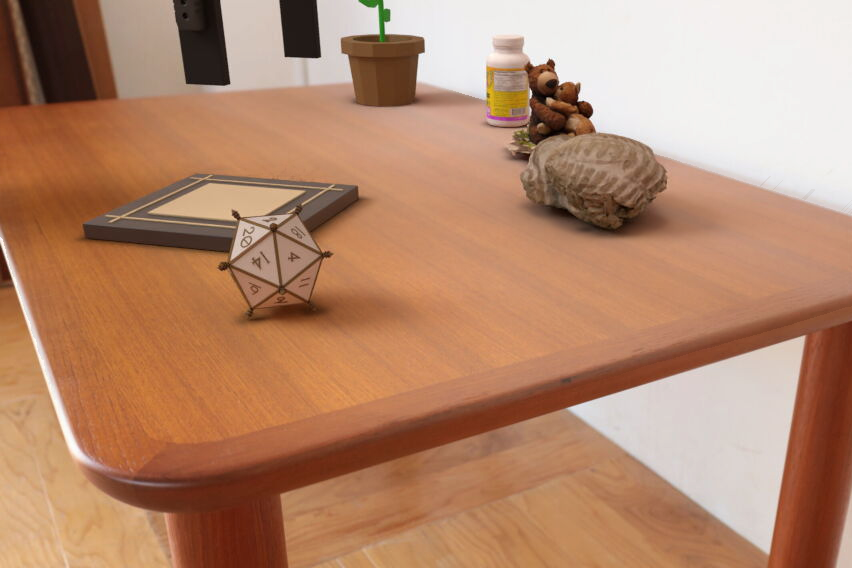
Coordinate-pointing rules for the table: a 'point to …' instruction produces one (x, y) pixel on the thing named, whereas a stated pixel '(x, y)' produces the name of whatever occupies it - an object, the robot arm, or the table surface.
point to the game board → (216, 210)
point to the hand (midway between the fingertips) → (260, 70)
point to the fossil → (594, 177)
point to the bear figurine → (551, 110)
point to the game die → (274, 260)
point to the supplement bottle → (507, 83)
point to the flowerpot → (383, 63)
